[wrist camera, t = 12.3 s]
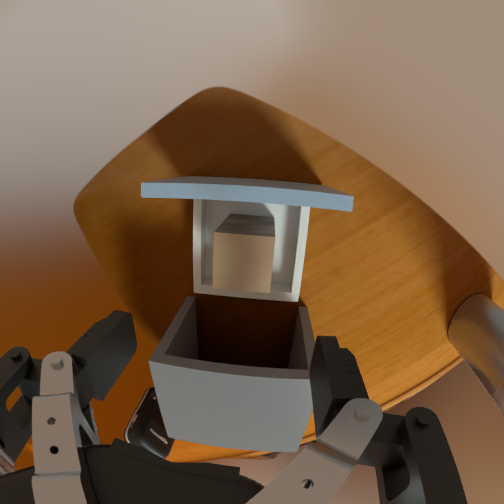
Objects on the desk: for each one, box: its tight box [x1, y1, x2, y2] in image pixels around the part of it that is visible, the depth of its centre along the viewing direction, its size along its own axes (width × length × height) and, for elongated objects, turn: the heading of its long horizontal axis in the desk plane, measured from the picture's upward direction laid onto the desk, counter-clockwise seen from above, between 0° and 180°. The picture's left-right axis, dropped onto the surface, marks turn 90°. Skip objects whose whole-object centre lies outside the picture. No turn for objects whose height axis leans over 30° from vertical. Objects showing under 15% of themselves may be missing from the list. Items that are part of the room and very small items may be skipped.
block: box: [213, 214, 275, 293], centre depth 24 cm, size 4×4×8 cm
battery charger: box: [124, 387, 175, 459], centre depth 32 cm, size 7×4×11 cm, turn 30°
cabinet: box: [149, 296, 315, 452], centre depth 27 cm, size 14×12×12 cm
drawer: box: [141, 176, 354, 302], centre depth 23 cm, size 14×12×11 cm
